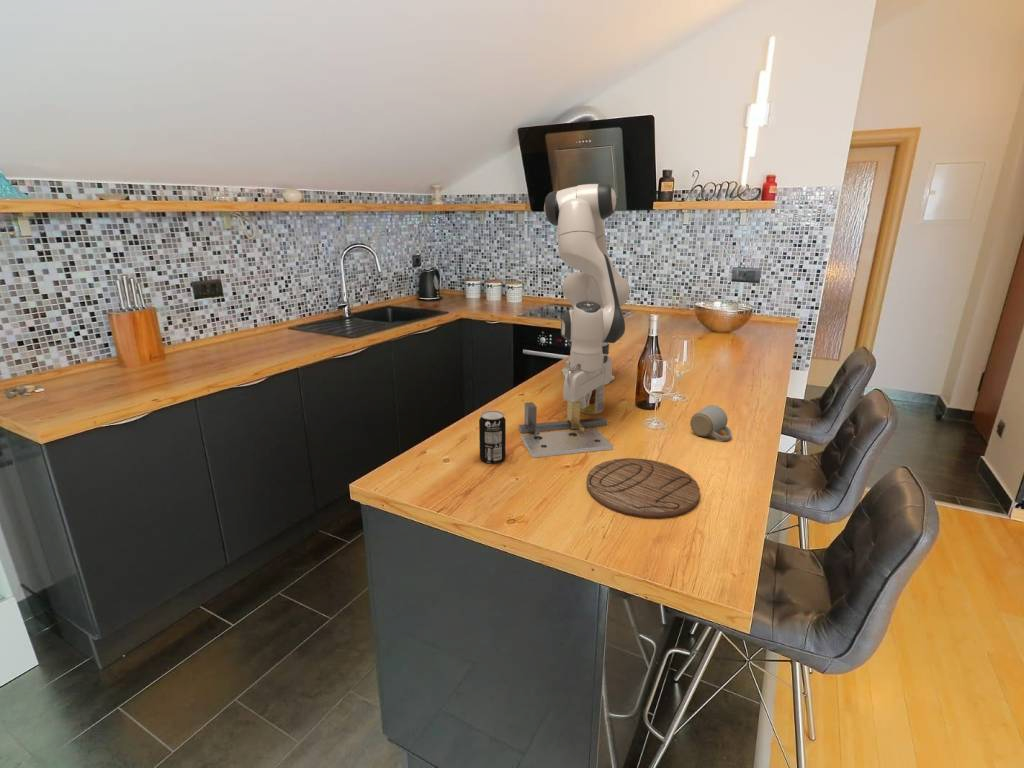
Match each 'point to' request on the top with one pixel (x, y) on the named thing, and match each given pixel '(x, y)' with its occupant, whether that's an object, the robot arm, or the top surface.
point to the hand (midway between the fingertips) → (583, 406)
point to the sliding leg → (574, 415)
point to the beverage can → (492, 436)
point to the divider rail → (548, 426)
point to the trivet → (643, 488)
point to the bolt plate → (565, 442)
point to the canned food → (595, 401)
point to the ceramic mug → (710, 422)
